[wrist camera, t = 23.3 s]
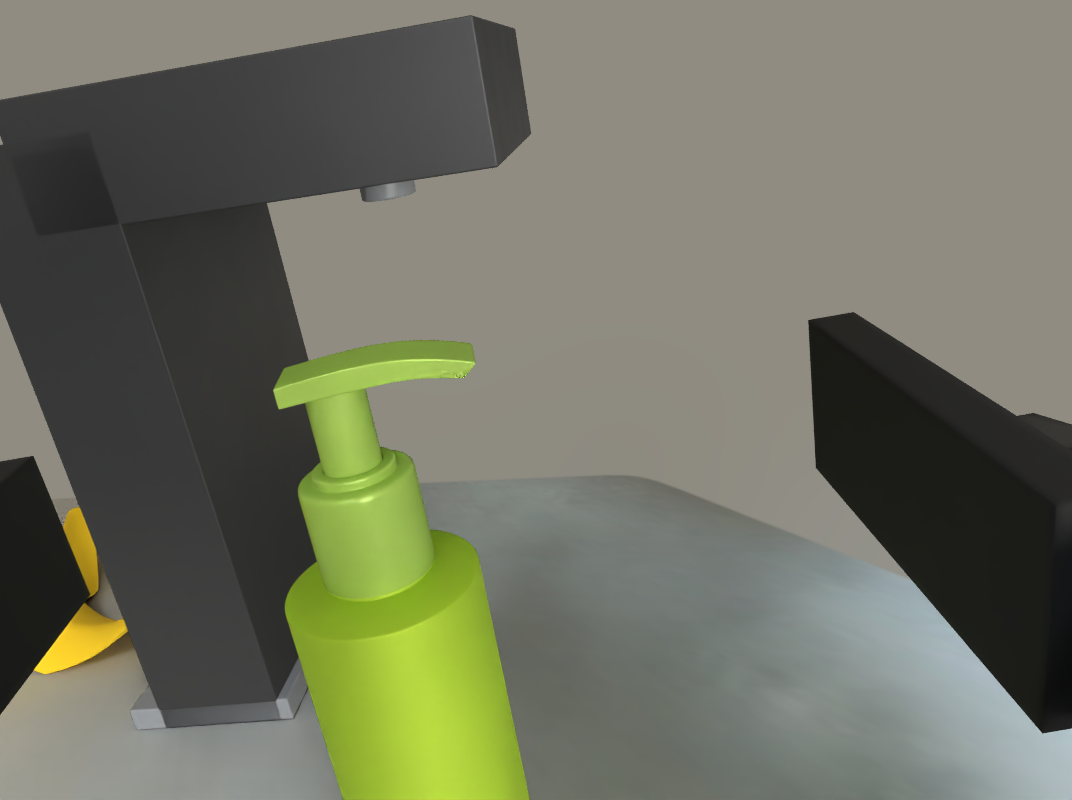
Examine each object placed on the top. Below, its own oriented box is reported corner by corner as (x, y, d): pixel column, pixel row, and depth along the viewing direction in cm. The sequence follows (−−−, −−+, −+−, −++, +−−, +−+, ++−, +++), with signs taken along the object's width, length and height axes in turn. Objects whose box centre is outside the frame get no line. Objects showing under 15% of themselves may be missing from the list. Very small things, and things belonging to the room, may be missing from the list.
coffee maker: (593, 537, 52) (514, 28, 42) (587, 697, 39) (472, 14, 29) (248, 571, 55) (97, 101, 45) (136, 730, 42) (-112, 119, 32)
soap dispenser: (588, 943, 28) (476, 367, 21) (377, 992, 28) (190, 422, 21) (561, 803, 34) (465, 310, 26) (385, 843, 33) (239, 351, 26)
